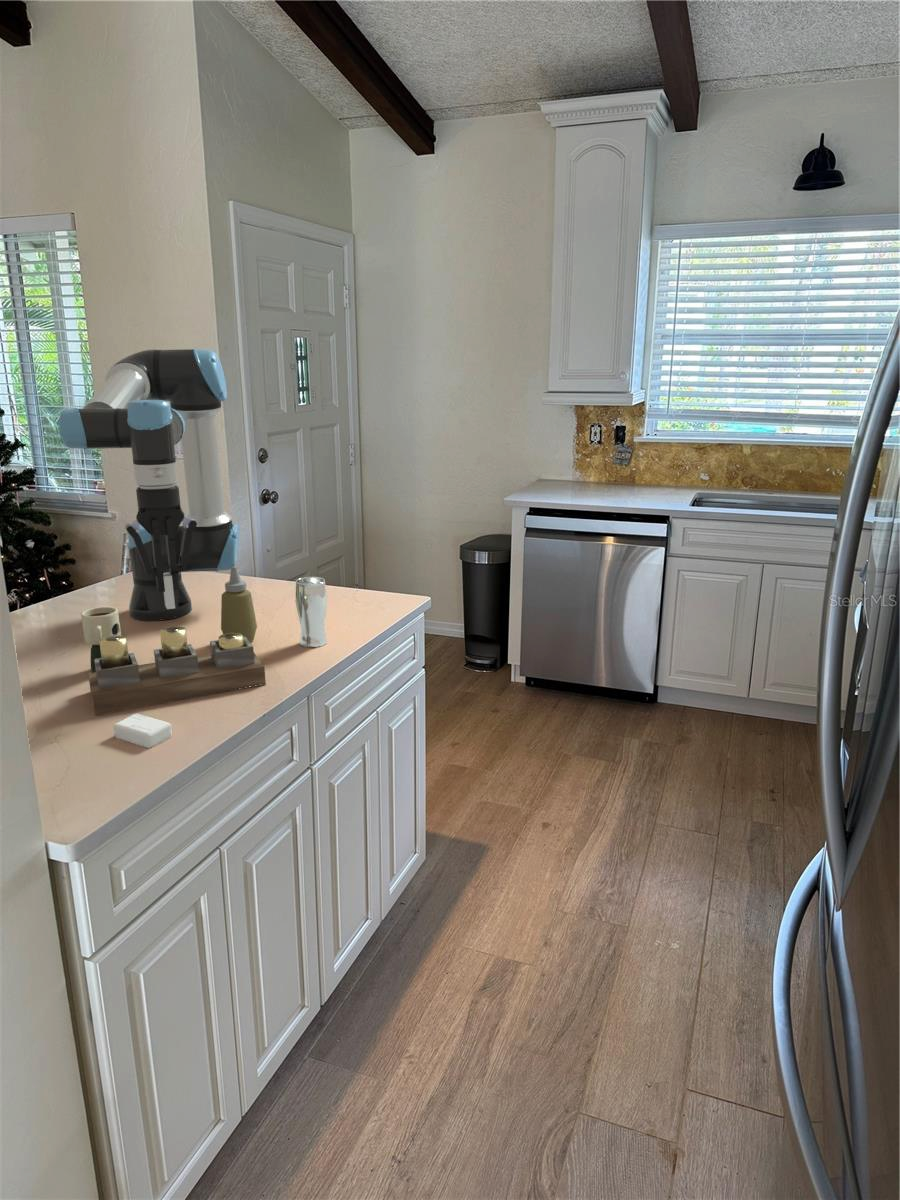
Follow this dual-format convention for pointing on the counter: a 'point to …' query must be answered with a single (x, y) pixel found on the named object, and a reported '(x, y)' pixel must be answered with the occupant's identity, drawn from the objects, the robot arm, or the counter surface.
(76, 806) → the counter surface
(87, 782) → the counter surface
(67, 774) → the counter surface
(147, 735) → the soap
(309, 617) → the beer glass
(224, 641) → the knob
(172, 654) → the knob middle
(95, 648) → the character mug
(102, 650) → the knob
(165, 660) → the mount
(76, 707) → the counter surface
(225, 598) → the squeeze bottle
